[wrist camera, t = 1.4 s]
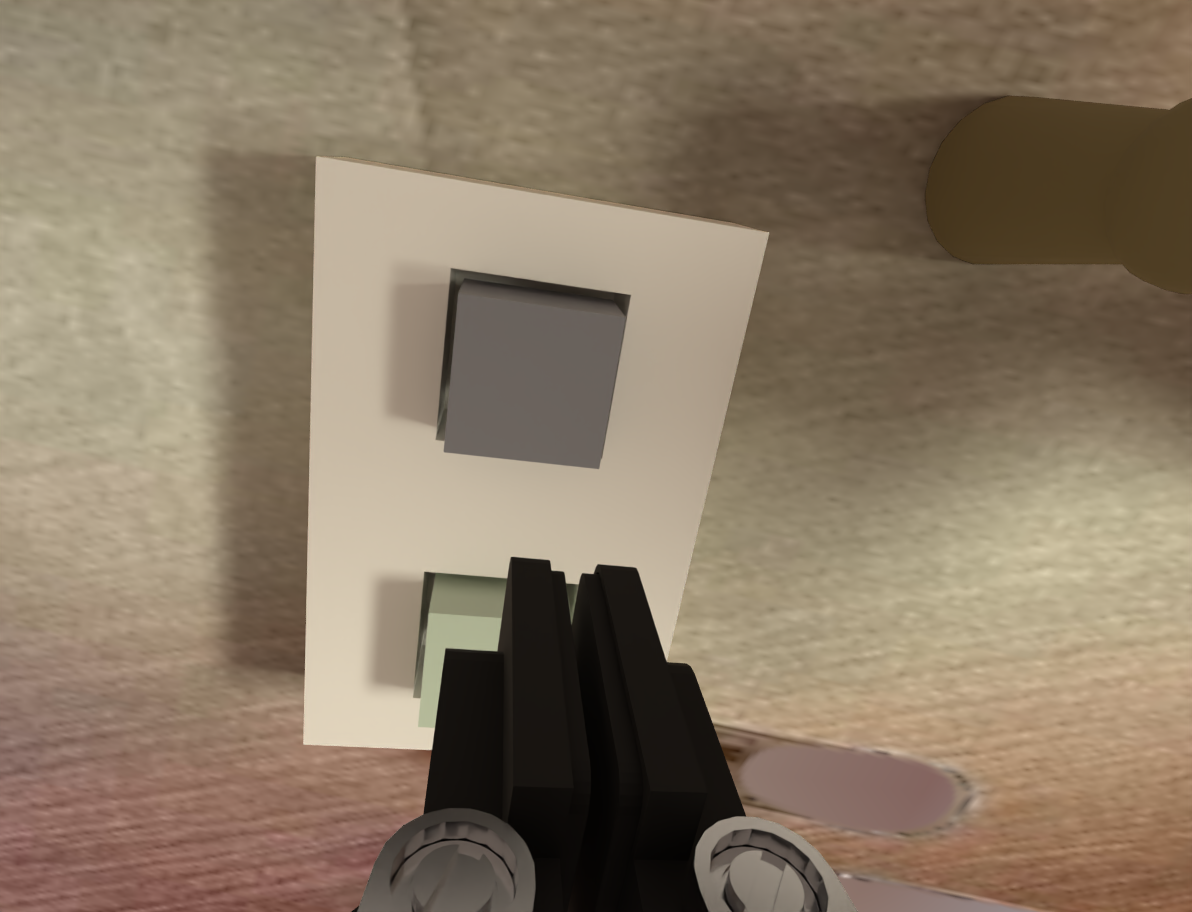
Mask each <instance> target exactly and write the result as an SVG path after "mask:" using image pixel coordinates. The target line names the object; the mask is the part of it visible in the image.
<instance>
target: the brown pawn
mask: <svg viewBox="0 0 1192 912" xmlns="http://www.w3.org/2000/svg"><path fill="white" fill-rule="evenodd" d="M925 200H926V210H927V219H928V222H929V224H930V227H931V229H932V231H933V233H934V235H935V237H936V240H937V241H938V242H939V243H940V244H941V245H942V246H943V247H944V248H945V249H946V250H947V251H948V252H949V253H950V254H951V255H952V256H954V257H956V258H959V259H961V260H964V261H966V262H969V263H971V264H1123V266H1124V267H1125V268H1126V269H1127V270H1128V271H1129V272H1130V273H1131V274H1133V275H1135V276H1136V277H1138V278H1140V279H1141V280H1143V281H1145V282H1148V283H1150V284H1153V285H1155V286H1157V287H1160V288H1162V289H1165V290H1168V291H1172V292H1177V293H1182V294H1192V98H1191V99H1189V100H1186V101H1184V102H1181V103H1179V104H1178V105H1176V106H1175V107H1173V108H1172V109H1170V110H1166V109H1155V108H1145V107H1134V106H1124V105H1113V104H1102V103H1092V102H1081V101H1071V100H1060V99H1050V98H1039V97H1023V96H1007V97H1004V98H1000V99H997V100H994V101H991V102H988V103H985V104H983V105H981V106H980V107H979V108H977V109H976V110H974V111H973V112H971V113H970V114H969V115H967V116H966V117H964V118H963V119H962V120H960V121H959V123H958V124H957V125H956V126H955V127H954V129H953V130H952V131H951V132H950V134H949V135H948V136H947V137H946V138H945V140H944V141H943V142H942V144H941V146H940V148H939V150H938V152H937V154H936V156H935V159H934V161H933V163H932V165H931V167H930V170H929V176H928V181H927V187H926V192H925Z"/></svg>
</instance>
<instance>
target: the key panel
mask: <svg viewBox="0 0 1192 912" xmlns="http://www.w3.org/2000/svg"><path fill="white" fill-rule="evenodd" d="M768 237H769V232H765V231H761V230H758V229H754V228H751V227H747V226H743V225H740V224H736V223H731V222H725V221H720V220H714V219H708V218H702V217H696V216H690V215H684V214H678V213H672V212H667V211H661V210H655V209H649V208H643V207H637V206H631V205H625V204H619V203H613V202H608V201H602V200H596V199H590V198H584V197H578V196H572V195H566V194H560V193H555V192H549V191H543V190H537V189H531V188H525V187H519V186H513V185H507V184H501V183H496V182H490V181H484V180H478V179H472V178H466V177H460V176H454V175H448V174H443V173H437V172H431V171H425V170H419V169H413V168H407V167H401V166H395V165H390V164H384V163H378V162H372V161H366V160H360V159H354V158H348V157H329V156H316V175H315V222H314V269H313V316H312V364H311V411H310V458H309V505H308V552H307V600H306V647H305V694H304V741H303V744H304V745H327V746H350V747H374V748H397V749H420V750H432V746H433V738H434V731H435V728H428V727H418V721H419V710H420V700H421V689H422V678H423V667H424V657H425V646H426V635H427V624H428V614H429V608H430V602H431V597H432V591H433V586H434V580H435V575H436V573H448V574H460V575H472V576H484V577H497V578H507V576H508V569H509V563H510V558H511V557H521V558H533V559H544V560H550V563H551V570H552V571H563V572H564V573H565V580H566V584H567V592H568V599H569V607H570V614H571V622H572V619H573V614H574V608H575V603H576V597H577V591H578V586H579V581H580V577H581V574H582V573H588V574H594V571H595V568H596V566H597V565H598V564H602V565H614V566H626V567H635V568H637V570H638V572H639V575H640V579H641V582H642V585H643V588H644V591H645V594H646V598H647V601H648V604H649V607H650V610H651V614H652V617H653V620H654V623H655V626H656V629H657V633H658V636H659V639H660V642H661V645H662V649H663V652H664V655H665V658H666V661H667V659H668V654H669V650H670V646H671V642H672V638H673V634H674V629H675V625H676V621H677V617H678V613H679V608H680V604H681V600H682V596H683V592H684V588H685V583H686V579H687V575H688V571H689V567H690V562H691V558H692V554H693V550H694V546H695V542H696V537H697V533H698V529H699V525H700V521H701V517H702V512H703V508H704V504H705V500H706V496H707V491H708V487H709V483H710V479H711V475H712V471H713V466H714V462H715V458H716V454H717V450H718V445H719V441H720V437H721V433H722V429H723V425H724V420H725V416H726V412H727V408H728V404H729V400H730V395H731V391H732V387H733V383H734V379H735V374H736V370H737V366H738V362H739V358H740V354H741V349H742V345H743V341H744V337H745V333H746V328H747V324H748V320H749V316H750V312H751V308H752V303H753V299H754V295H755V291H756V287H757V283H758V278H759V274H760V270H761V266H762V262H763V257H764V253H765V249H766V245H767V241H768ZM464 278H467V279H474V280H481V281H488V282H494V283H501V284H508V285H515V286H522V287H528V288H535V289H542V290H549V291H556V292H562V293H569V294H576V295H583V296H589V297H596V298H603V299H610V300H613V301H614V302H615V303H616V305H617V306H618V307H619V309H620V310H621V311H622V313H623V314H624V315H625V317H626V321H625V326H624V332H623V338H622V343H621V349H620V355H619V360H618V366H617V371H616V377H615V383H614V388H613V394H612V400H611V405H610V411H609V416H608V422H607V428H606V433H605V439H604V445H603V450H602V456H601V461H600V467H599V469H593V468H584V467H574V466H565V465H556V464H547V463H538V462H528V461H519V460H510V459H501V458H491V457H482V456H473V455H464V454H455V453H445V452H444V441H445V431H446V420H447V409H448V398H449V388H450V377H451V366H452V355H453V344H454V334H455V323H456V312H457V301H458V293H459V290H460V288H461V285H462V283H463V280H464Z"/></svg>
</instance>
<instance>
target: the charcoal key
mask: <svg viewBox="0 0 1192 912" xmlns="http://www.w3.org/2000/svg"><path fill="white" fill-rule="evenodd" d="M625 321H626V317H625V315H624V314H623V313H622V311H621V310H620V309H619V307H618V306H617V305H616V303H615V302H614V301H613V300H610V299H603V298H596V297H589V296H583V295H576V294H569V293H562V292H556V291H549V290H542V289H535V288H528V287H522V286H515V285H508V284H501V283H494V282H488V281H481V280H474V279H467V278H464V280H463V283H462V285H461V288H460V290H459V293H458V301H457V312H456V323H455V334H454V344H453V355H452V366H451V377H450V388H449V398H448V409H447V420H446V431H445V441H444V452H445V453H455V454H464V455H473V456H482V457H491V458H501V459H510V460H519V461H528V462H538V463H547V464H556V465H565V466H574V467H584V468H593V469H599V467H600V461H601V456H602V450H603V445H604V439H605V433H606V428H607V422H608V416H609V411H610V405H611V400H612V394H613V388H614V383H615V377H616V371H617V366H618V360H619V355H620V349H621V343H622V338H623V332H624V326H625Z"/></svg>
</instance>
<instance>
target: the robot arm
mask: <svg viewBox="0 0 1192 912" xmlns="http://www.w3.org/2000/svg"><path fill="white" fill-rule="evenodd" d="M352 912H858V911H857V910H856V908H855V906H854V904H853V903H852V901H851V900H850V898H849V897H848V895H847V893H846V891H845V889H844V888H843V886H842V885H841V883H840V881H839V879H838V878H837V876H836V874H835V873H834V871H833V870H832V868H831V867H830V866H829V865H828V863H827V862H826V861H825V859H824V858H823V857H822V855H821V854H820V853H819V852H818V851H817V850H816V849H815V848H814V847H813V846H812V845H810V844H809V843H808V842H807V841H806V840H805V839H803V838H802V837H801V836H800V835H798V834H796V833H795V832H793V831H791V830H789V829H787V828H785V827H784V826H782V825H780V824H778V823H775V822H771V821H768V820H765V819H761V818H758V817H746V815H745V812H744V809H743V806H742V804H741V801H740V798H739V795H738V793H737V790H736V787H735V784H734V781H733V779H732V776H731V773H730V770H729V768H728V765H727V762H726V759H725V757H724V754H723V751H722V748H721V745H720V743H719V740H718V737H717V734H716V732H715V729H714V726H713V723H712V721H711V718H710V715H709V712H708V709H707V707H706V704H705V701H704V698H703V696H702V693H701V690H700V687H699V685H698V682H697V679H696V676H695V674H694V672H693V670H692V668H691V666H689V665H688V664H685V663H669V662H667V661H666V658H665V655H664V652H663V649H662V645H661V642H660V639H659V636H658V633H657V629H656V626H655V623H654V620H653V617H652V614H651V610H650V607H649V604H648V601H647V598H646V594H645V591H644V588H643V585H642V582H641V579H640V575H639V572H638V570H637V568H635V567H626V566H614V565H602V564H598V565H597V566H596V568H595V571H594V574H588V573H582V574H581V577H580V581H579V586H578V591H577V597H576V603H575V608H574V614H573V619H572V624H571V617H570V609H569V602H568V594H567V587H566V580H565V573H564V572H563V571H552V570H551V563H550V560H544V559H533V558H521V557H511V558H510V563H509V569H508V576H507V584H506V591H505V598H504V606H503V613H502V620H501V628H500V635H499V642H498V650H497V651H484V650H468V649H453V648H445V655H444V662H443V670H442V677H441V685H440V693H439V700H438V708H437V715H436V723H435V731H434V738H433V746H432V753H431V761H430V769H429V776H428V784H427V791H426V799H425V807H424V814H423V815H421V816H419V817H418V818H416V819H414V820H412V821H410V822H408V823H407V824H405V825H403V826H402V827H401V828H400V829H399V830H398V831H397V832H396V833H395V834H394V835H393V836H392V837H391V838H390V839H389V840H388V841H387V842H386V843H385V845H384V847H383V848H382V850H381V852H380V854H379V856H378V858H377V859H376V861H375V863H374V866H373V869H372V872H371V874H370V877H369V880H368V883H367V886H366V888H365V891H364V894H363V897H362V900H361V902H360V905H359V906H358V907H357V908H356V909H354V910H353V911H352Z"/></svg>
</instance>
